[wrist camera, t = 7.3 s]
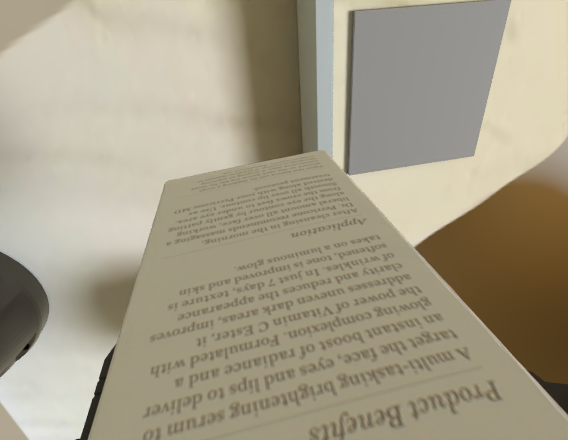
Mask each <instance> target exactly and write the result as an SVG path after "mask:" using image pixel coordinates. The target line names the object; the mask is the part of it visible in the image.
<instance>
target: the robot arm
mask: <svg viewBox="0 0 568 440" xmlns="http://www.w3.org/2000/svg"><path fill="white" fill-rule="evenodd" d="M48 314H49V304H48V299H47V296H46V293H45V291H44V289H43V287H42V286H41V284H40V283H39V281H38V280H37V279H36V278H35V277H34V275H33V274H32V273H31V272H29V271H28V270H27V269H26V268H25V267H24V266H22V265H21V264H20V263H18V262H17V261H15V260H14V259H12V258H10V257H9V256H7V255H5V254H3V253H1V252H0V377H1V376H2V375H3V374H4V373H5V372H6V371H7V370H8V369H9V368H10V367H11V366H12V365H13V364H14V363H15V362H16V361H17V360H19V359H20V358H21V357H22V356H24V355H25V354H26V353H27V352H28V351H29V350H30V349H31V347H32V346H33V345H34V344H35V342H36V341H37V339H38V337H39V335H40V333H41V331H42V329H43V327H44V326H45V324H46V321H47V318H48ZM116 344H117V343H116ZM115 347H116V345H115V346H114V348H113V349H112V350H111V352H110V353H109V354H108V356H107V357H106V359H105V360H104V364H103V367H102V370H101V373H100V377H99V382H98V383H97V386H96V390H95V393H94V395H95V396H94V398H93V399H92V403H91V406H90V409H89V412H88V416H87V419H86V422H85V425H84V428H83V432H82V435H81V438H80V439H76V440H88V437H89V434H90V431H91V427H92V424H93V421H94V417H95V414H96V411H97V407H98V404H99V401H100V397H101V394H102V391H103V387H104V384H105V381H106V377H107V374H108V371H109V367H110V364H111V361H112V357H113V354H114V350H115ZM527 371H528V370H527ZM528 372H529V373H530V375H531V376H532V377H533V378H534V379H535V380H536V381H537V382H538V383H539V384H540V385H541V386H542V388H543V389H544V390H545V391H546V392H547V393H548V394H549V395H550V396H551V397H552V398H553V399H554V401H555V402H556V403H557V404H558V405H559V406H560V407H561V408H562V409H563V410H564V411H565V412H566V414H567V415H568V384H557V383H549V382H545V381H543V380H542V379H541V378H539V377H538V376H537V375H535V374H534V373H532V372H530V371H528Z"/></svg>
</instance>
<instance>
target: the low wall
mask: <svg viewBox="0 0 568 440" xmlns="http://www.w3.org/2000/svg"><path fill="white" fill-rule="evenodd" d="M297 21H298V46H299V71H300V96H301V121H302V146H303V154H304V153H309V152H314V151H319V150H323V151H326V152H327V153H328V154H329V155H330V157H331V158H332V147H333V25H334V0H297Z"/></svg>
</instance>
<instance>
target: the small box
mask: <svg viewBox="0 0 568 440" xmlns="http://www.w3.org/2000/svg"><path fill="white" fill-rule="evenodd" d="M88 440H568V415H567V414H566V412H565V411H564V410H563V409H562V408H561V407H560V406H559V405H558V404H557V403H556V402H555V401H554V399H553V398H552V397H551V396H550V395H549V394H548V393H547V392H546V391H545V390H544V389H543V388H542V386H541V385H540V384H539V383H538V382H537V381H536V380H535V379H534V378H533V377H532V376H531V375H530V373H529V372H528V371H527V370H526V369H525V368H524V367H523V366H522V365H521V364H520V363H519V362H518V361H517V360H516V359H515V357H514V356H513V355H512V354H511V353H510V352H509V351H508V350H507V349H506V347H505V346H504V345H502V343H501V342H500V341H499V340H498V339H497V338H496V336H494V334H493V333H492V332H491V331H490V330H489V329H488V328H487V327H486V326H485V325H484V323H483V322H482V321H481V320H480V319H479V318H478V317H477V316H476V315H475V314H474V313H473V311H471V309H470V308H469V307H468V306H467V305H466V304H465V303H464V302H463V301H462V300H461V298H460V297H459V296H458V295H457V294H456V293H455V291H454V290H452V288H451V287H450V286H449V285H448V284H447V283H446V282H445V281H444V280H443V279H442V278H441V277H440V275H438V273H437V272H436V271H435V270H434V269H433V268H432V267H431V266H430V264H429V263H428V262H427V261H426V260H425V259H424V258H423V257H422V256H421V255H420V254H419V253H418V252H417V251H416V249H415V248H414V247H413V246H412V245H411V244H410V243H409V242H408V241H407V240H406V239H405V238H404V236H403V235H402V234H401V233H400V232H399V231H398V230H397V229H396V228H395V227H394V226H393V225H392V223H391V222H390V221H389V220H388V219H387V218H386V217H385V216H384V214H383V213H382V212H381V211H380V210H379V209H378V208H377V207H376V205H375V204H374V203H373V202H372V201H371V200H370V199H369V198H368V197H367V196H366V195H365V194H364V193H363V192H362V190H361V189H360V188H359V187H358V186H357V185H356V184H355V183H354V182H353V181H352V179H351V178H350V177H349V176H348V175H347V174H346V173H345V172H344V171H343V170H342V169H341V168H340V167H339V165H338V164H337V163H336V162H335V161H334V160H333V159H332V158H331V157H330V155H329V154H328V153H327V152H326V151H323V150H319V151H314V152H309V153H304V154H299V155H294V156H289V157H284V158H278V159H273V160H268V161H263V162H258V163H253V164H248V165H243V166H238V167H233V168H228V169H223V170H218V171H213V172H208V173H204V174H199V175H194V176H190V177H185V178H180V179H175V180H170V181H167V182H166V183H165V185H164V189H163V192H162V195H161V199H160V202H159V205H158V209H157V212H156V215H155V218H154V221H153V225H152V228H151V232H150V235H149V239H148V242H147V245H146V248H145V252H144V255H143V258H142V261H141V264H140V267H139V271H138V274H137V278H136V281H135V284H134V288H133V291H132V294H131V298H130V301H129V305H128V308H127V311H126V314H125V317H124V320H123V324H122V327H121V331H120V335H119V338H118V341H117V344H116V347H115V350H114V354H113V357H112V361H111V364H110V367H109V371H108V374H107V377H106V381H105V384H104V387H103V391H102V394H101V397H100V401H99V404H98V407H97V411H96V414H95V417H94V421H93V424H92V427H91V431H90V434H89V437H88Z"/></svg>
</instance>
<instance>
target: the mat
mask: <svg viewBox="0 0 568 440" xmlns="http://www.w3.org/2000/svg"><path fill="white" fill-rule="evenodd" d="M510 3H511V0H489V1H477V2H464V3H452V4H439V5H427V6H414V7H402V8H389V9H377V10H364V11H353V36H352V65H351V94H350V123H349V153H348V174H349V175H354V174H361V173H367V172H374V171H380V170H387V169H393V168H399V167H406V166H412V165H419V164H425V163H432V162H438V161H445V160H451V159H458V158H464V157H471V156H474V153H475V149H476V145H477V141H478V137H479V133H480V128H481V124H482V120H483V116H484V112H485V107H486V103H487V99H488V95H489V91H490V87H491V82H492V78H493V74H494V70H495V66H496V62H497V57H498V53H499V49H500V45H501V41H502V36H503V32H504V28H505V24H506V20H507V16H508V11H509V7H510Z"/></svg>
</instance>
